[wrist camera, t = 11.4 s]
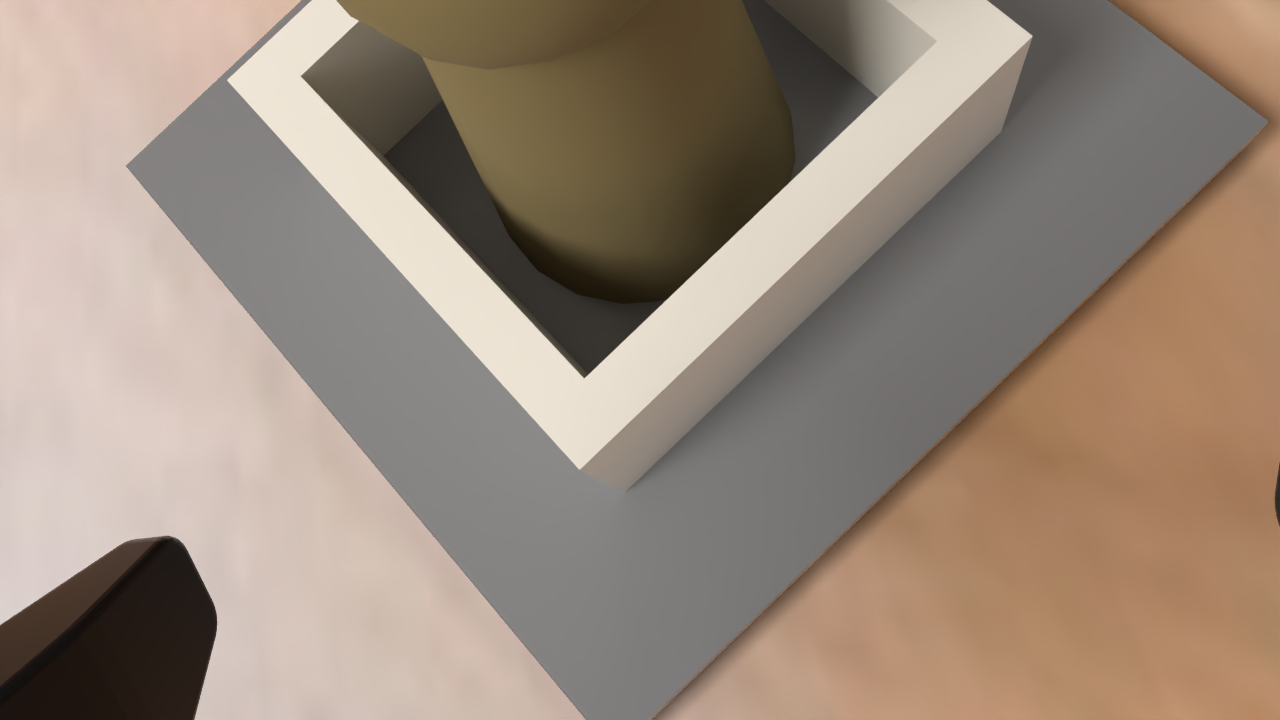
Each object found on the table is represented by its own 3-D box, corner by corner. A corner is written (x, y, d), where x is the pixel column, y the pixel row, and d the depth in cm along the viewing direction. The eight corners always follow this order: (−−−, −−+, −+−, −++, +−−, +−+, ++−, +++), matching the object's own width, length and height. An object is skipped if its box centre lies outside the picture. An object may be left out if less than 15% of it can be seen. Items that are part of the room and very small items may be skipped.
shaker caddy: (625, 745, 20) (562, 786, 15) (154, 183, 24) (4, 92, 20) (1248, 144, 20) (1359, 18, 16) (667, -301, 24) (629, -495, 20)
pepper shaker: (520, 337, 21) (182, 67, 10) (470, 62, 22) (130, -425, 12) (829, 259, 20) (814, -124, 9) (755, -22, 21) (668, -625, 11)
